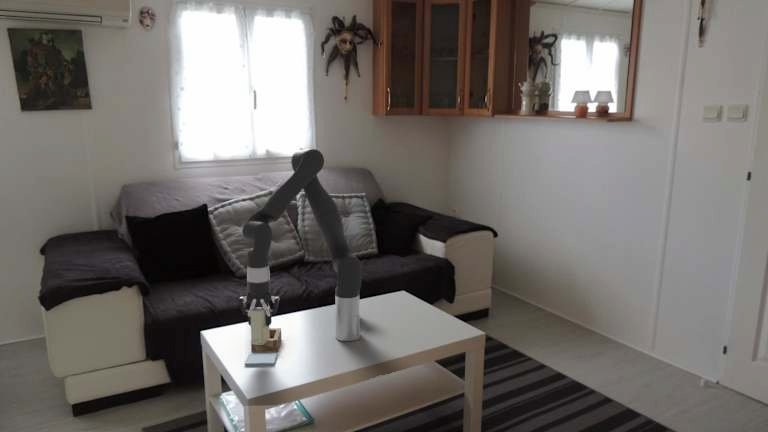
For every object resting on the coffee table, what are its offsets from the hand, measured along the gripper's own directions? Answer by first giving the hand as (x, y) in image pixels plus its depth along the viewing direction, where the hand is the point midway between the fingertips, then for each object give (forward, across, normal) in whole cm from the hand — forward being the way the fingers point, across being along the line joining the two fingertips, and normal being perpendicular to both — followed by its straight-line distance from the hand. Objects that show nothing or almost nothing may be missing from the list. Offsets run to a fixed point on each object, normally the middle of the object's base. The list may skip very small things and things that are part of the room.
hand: (260, 325), depth 194 cm
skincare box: (+6, 0, 0) cm, 6 cm away
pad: (+13, 0, 0) cm, 13 cm away
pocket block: (+13, 0, -13) cm, 18 cm away
